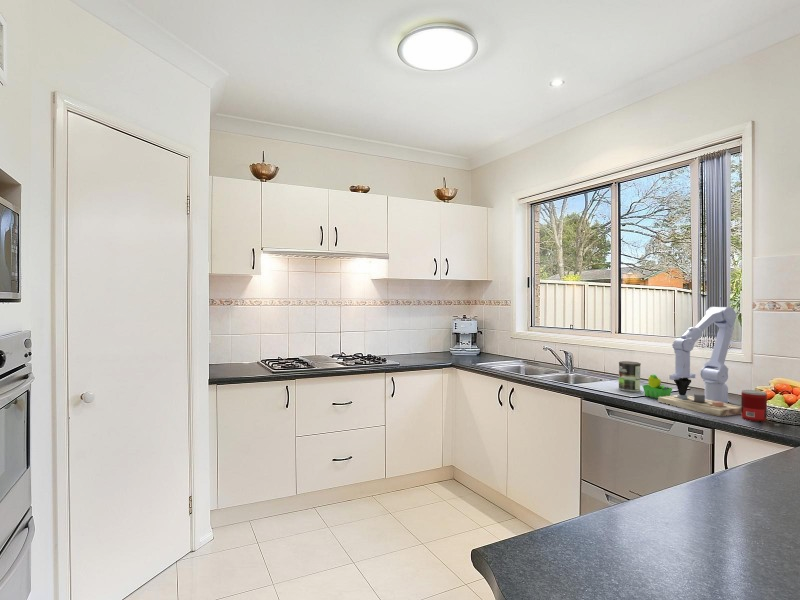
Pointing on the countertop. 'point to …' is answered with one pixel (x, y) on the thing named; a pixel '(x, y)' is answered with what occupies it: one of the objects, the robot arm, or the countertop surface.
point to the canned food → (754, 405)
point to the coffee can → (629, 376)
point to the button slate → (682, 397)
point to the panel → (701, 406)
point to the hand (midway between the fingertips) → (682, 394)
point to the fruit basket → (656, 388)
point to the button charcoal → (699, 398)
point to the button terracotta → (717, 404)
